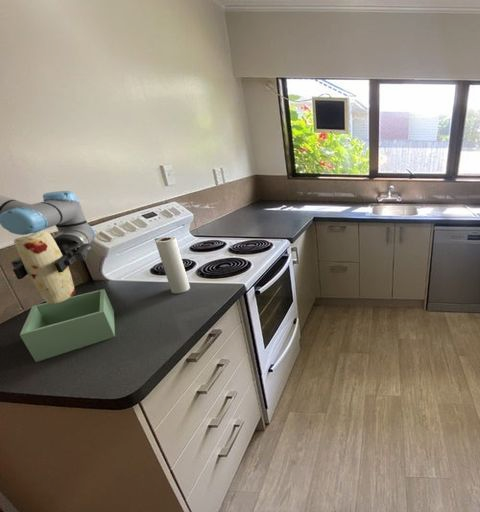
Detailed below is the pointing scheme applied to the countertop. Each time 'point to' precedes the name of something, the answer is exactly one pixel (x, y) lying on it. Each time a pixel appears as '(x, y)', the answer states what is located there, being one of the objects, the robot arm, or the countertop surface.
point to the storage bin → (68, 325)
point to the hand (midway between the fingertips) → (38, 271)
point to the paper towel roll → (172, 264)
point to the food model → (45, 266)
